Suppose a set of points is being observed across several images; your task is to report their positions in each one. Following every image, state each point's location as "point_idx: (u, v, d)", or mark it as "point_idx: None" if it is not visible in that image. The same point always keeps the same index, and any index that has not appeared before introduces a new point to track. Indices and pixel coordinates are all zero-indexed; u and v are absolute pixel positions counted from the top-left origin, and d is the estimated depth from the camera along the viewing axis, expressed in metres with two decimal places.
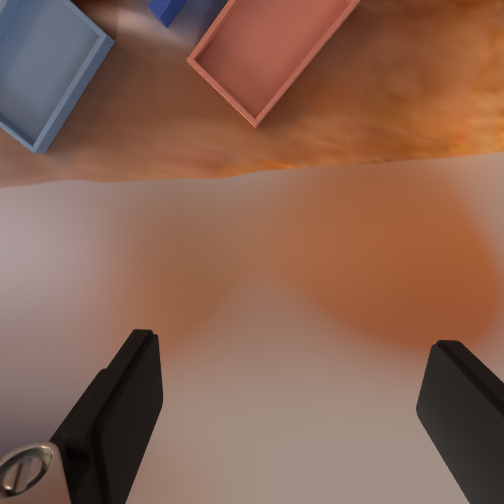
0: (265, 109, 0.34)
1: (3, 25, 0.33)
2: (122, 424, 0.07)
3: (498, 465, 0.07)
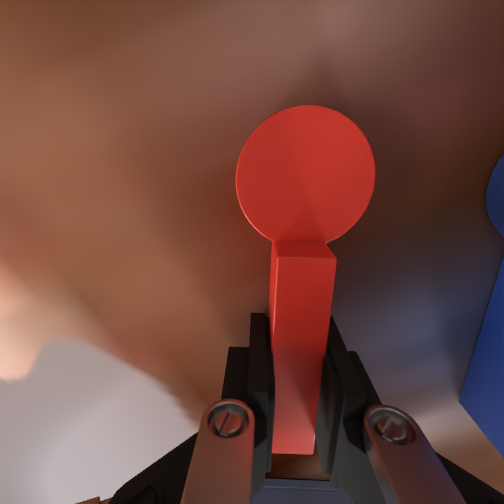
0: None
1: None
2: None
3: (326, 413, 0.08)
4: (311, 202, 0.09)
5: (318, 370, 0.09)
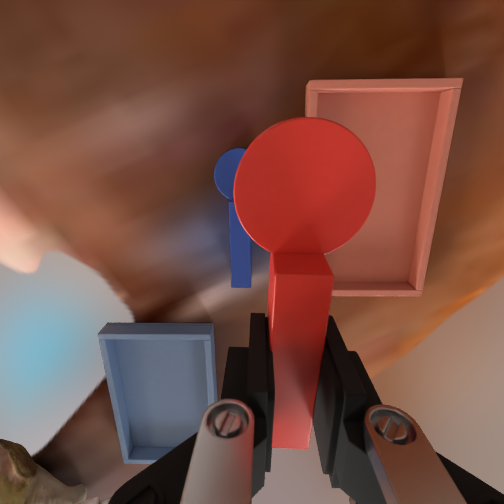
0: (421, 273, 0.25)
1: (119, 387, 0.30)
2: None
3: (327, 413, 0.08)
4: (309, 215, 0.09)
5: (314, 377, 0.09)
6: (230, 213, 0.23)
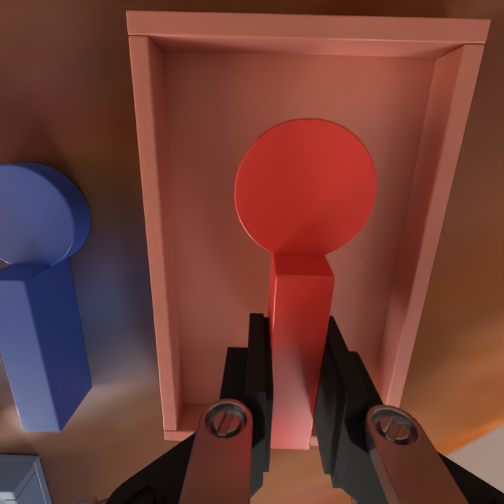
0: None
1: None
2: None
3: (328, 413, 0.08)
4: (310, 215, 0.09)
5: (315, 377, 0.09)
6: None
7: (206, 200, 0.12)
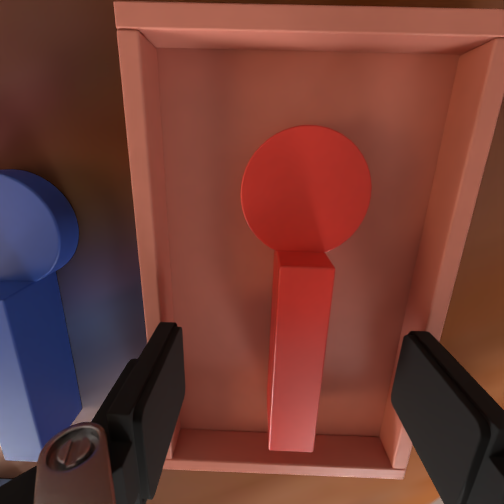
0: (404, 441, 0.12)
1: None
2: (156, 409, 0.08)
3: (456, 445, 0.07)
4: (311, 214, 0.09)
5: (318, 372, 0.10)
6: None
7: (204, 210, 0.11)
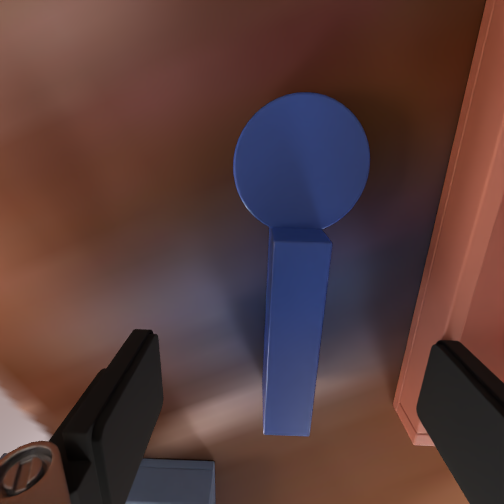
0: None
1: None
2: (122, 424, 0.07)
3: (498, 465, 0.07)
4: None
5: None
6: (275, 270, 0.08)
7: None
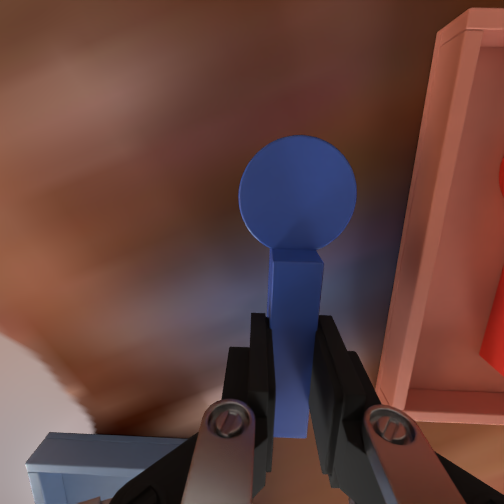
0: None
1: None
2: None
3: (326, 413, 0.08)
4: None
5: None
6: (275, 286, 0.10)
7: (462, 184, 0.12)
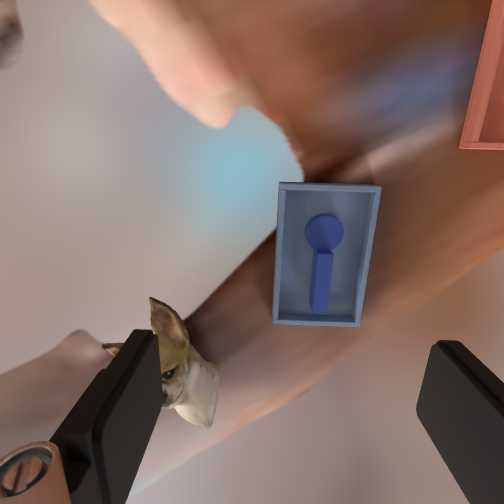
0: None
1: None
2: (122, 424, 0.07)
3: (498, 465, 0.07)
4: None
5: None
6: (318, 261, 0.32)
7: None
